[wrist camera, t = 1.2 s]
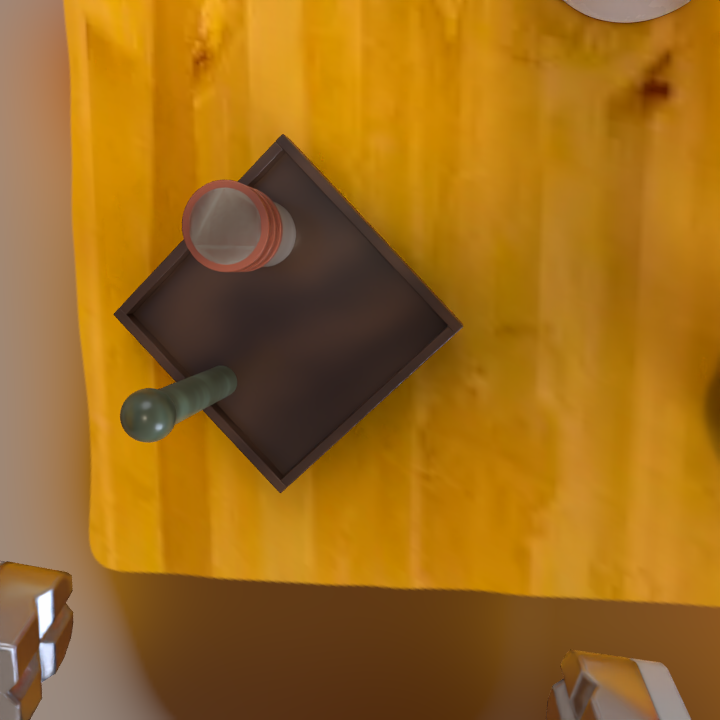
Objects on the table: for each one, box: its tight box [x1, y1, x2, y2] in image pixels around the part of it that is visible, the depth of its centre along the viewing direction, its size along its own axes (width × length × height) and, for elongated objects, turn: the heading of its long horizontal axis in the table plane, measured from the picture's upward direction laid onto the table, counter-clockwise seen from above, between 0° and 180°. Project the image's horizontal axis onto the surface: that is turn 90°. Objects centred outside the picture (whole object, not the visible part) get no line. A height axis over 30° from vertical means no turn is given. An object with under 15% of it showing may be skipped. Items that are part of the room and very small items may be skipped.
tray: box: [114, 134, 463, 493], centre depth 47 cm, size 20×20×16 cm
